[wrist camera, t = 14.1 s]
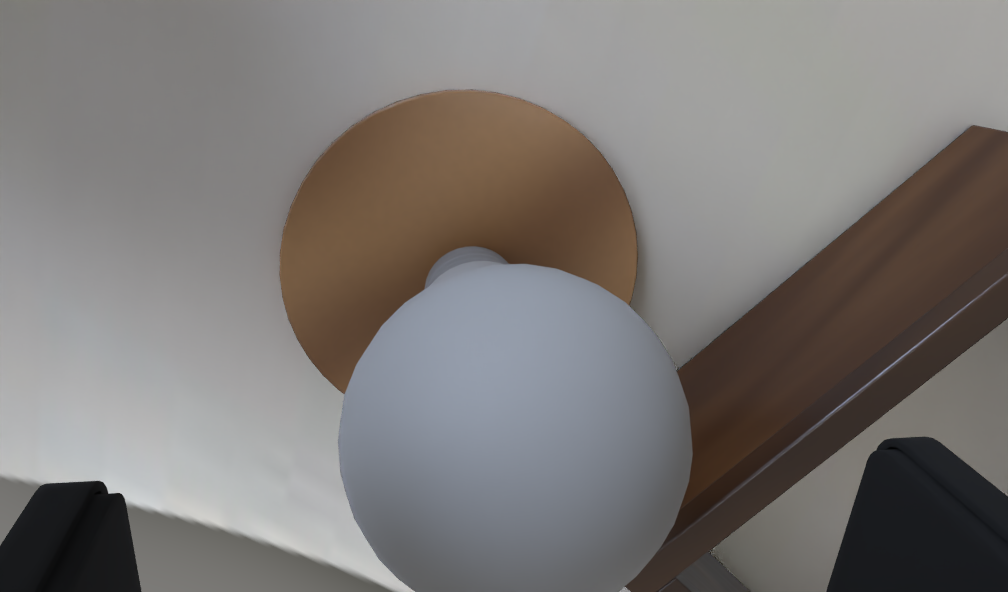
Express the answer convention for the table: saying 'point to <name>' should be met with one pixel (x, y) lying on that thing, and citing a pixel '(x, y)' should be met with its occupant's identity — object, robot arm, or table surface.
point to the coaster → (443, 213)
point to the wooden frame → (838, 349)
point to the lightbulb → (514, 433)
